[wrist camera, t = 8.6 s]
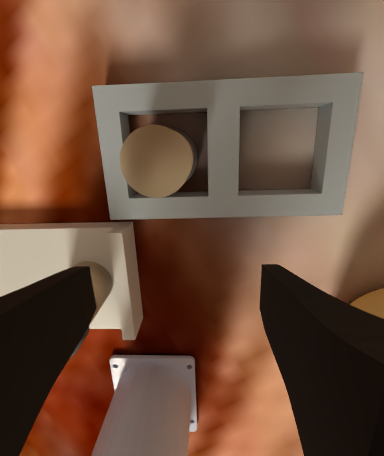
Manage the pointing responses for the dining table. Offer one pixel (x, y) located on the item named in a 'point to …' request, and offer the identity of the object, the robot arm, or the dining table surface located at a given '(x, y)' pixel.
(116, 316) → the flanged base plate
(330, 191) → the pin block
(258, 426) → the dining table surface
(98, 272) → the plain peg
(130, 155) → the banded peg
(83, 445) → the dining table surface
